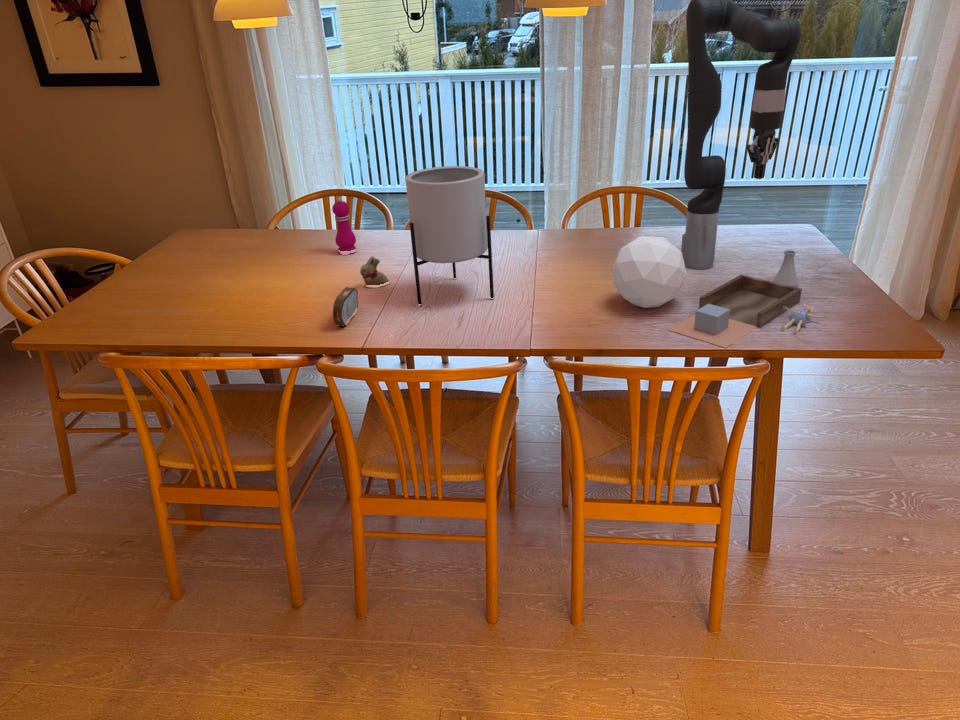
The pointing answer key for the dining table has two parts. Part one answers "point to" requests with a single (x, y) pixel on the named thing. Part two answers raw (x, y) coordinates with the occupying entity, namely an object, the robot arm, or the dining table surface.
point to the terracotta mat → (721, 339)
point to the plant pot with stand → (448, 217)
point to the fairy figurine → (799, 319)
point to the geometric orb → (649, 271)
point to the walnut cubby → (752, 299)
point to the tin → (345, 305)
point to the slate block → (712, 319)
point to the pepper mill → (343, 226)
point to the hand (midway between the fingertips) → (758, 178)
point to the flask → (787, 270)
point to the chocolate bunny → (372, 273)
